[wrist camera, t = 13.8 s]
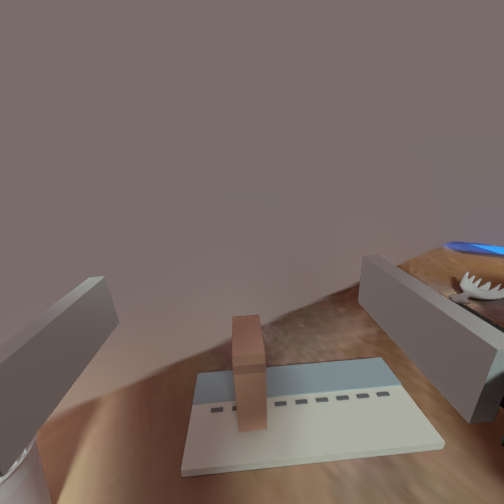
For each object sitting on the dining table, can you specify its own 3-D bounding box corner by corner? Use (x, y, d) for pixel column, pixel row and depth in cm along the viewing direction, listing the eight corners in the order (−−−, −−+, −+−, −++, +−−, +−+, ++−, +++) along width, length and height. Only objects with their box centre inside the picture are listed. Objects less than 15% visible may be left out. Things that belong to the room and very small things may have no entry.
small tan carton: (261, 380, 30) (259, 314, 27) (268, 429, 24) (265, 354, 21) (237, 382, 30) (232, 316, 27) (238, 432, 24) (231, 357, 21)
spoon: (517, 299, 48) (523, 284, 47) (438, 364, 34) (443, 344, 32) (463, 282, 55) (467, 269, 54) (379, 329, 41) (382, 312, 40)
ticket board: (379, 363, 34) (380, 356, 33) (442, 449, 23) (445, 441, 23) (199, 379, 33) (198, 372, 32) (182, 477, 22) (180, 469, 22)
